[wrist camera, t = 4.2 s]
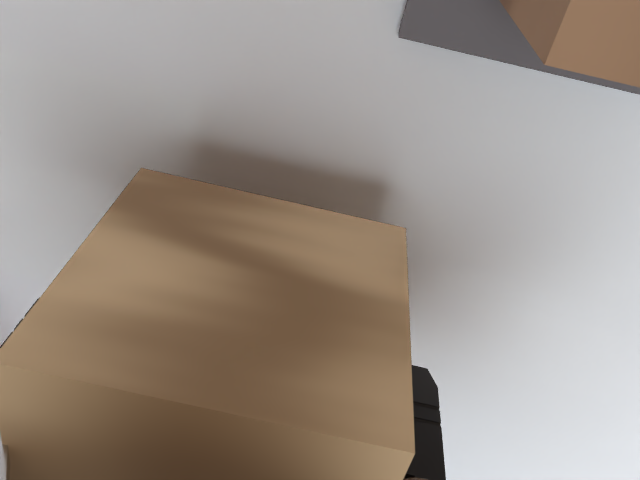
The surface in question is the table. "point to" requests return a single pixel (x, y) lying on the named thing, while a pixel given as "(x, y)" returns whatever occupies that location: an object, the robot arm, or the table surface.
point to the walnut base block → (583, 35)
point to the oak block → (215, 345)
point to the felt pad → (481, 34)
